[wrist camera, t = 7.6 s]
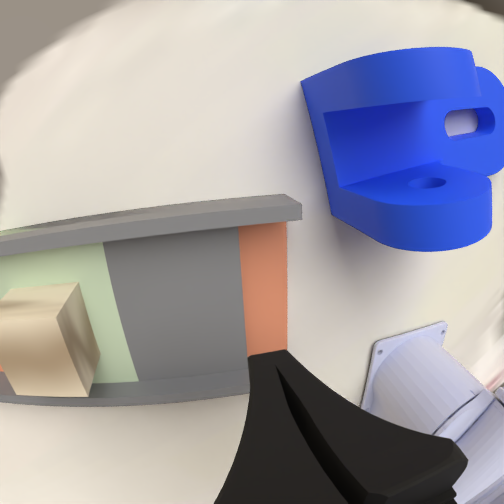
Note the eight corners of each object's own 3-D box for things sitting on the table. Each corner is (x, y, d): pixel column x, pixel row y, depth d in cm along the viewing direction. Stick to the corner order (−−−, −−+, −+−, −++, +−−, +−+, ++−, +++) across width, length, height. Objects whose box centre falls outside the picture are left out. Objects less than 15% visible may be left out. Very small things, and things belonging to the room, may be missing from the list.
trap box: (286, 357, 23) (298, 383, 20) (-25, 375, 18) (-38, 397, 16) (284, 193, 19) (301, 204, 16) (-75, 247, 14) (-97, 261, 12)
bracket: (330, 214, 20) (420, 268, 12) (299, 81, 17) (387, 45, 8) (501, 162, 21) (581, 183, 13) (487, 69, 18) (571, 68, 10)
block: (100, 353, 18) (88, 396, 14) (36, 356, 17) (16, 394, 14) (78, 281, 16) (55, 317, 13) (10, 288, 16) (-19, 321, 12)
